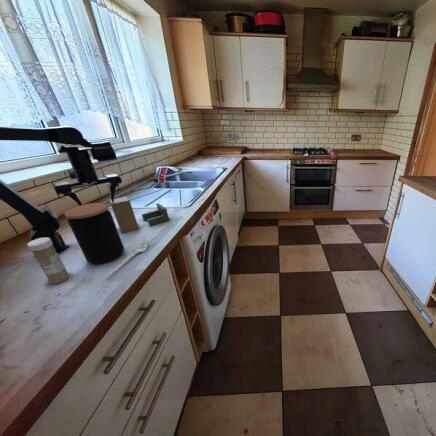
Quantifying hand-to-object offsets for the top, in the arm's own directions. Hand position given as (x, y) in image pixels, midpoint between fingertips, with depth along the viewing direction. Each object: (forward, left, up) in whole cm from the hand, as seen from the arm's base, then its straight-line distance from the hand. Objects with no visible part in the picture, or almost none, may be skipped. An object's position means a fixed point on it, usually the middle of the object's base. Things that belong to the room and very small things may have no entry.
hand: (98, 204), depth 87 cm
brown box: (+5, -4, -13) cm, 15 cm away
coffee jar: (-15, -11, -13) cm, 23 cm away
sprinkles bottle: (-27, -6, -13) cm, 31 cm away
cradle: (+13, -11, -13) cm, 21 cm away
